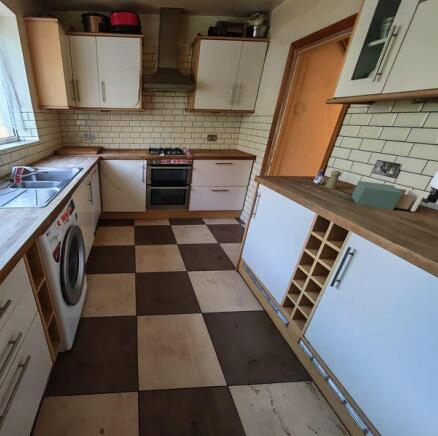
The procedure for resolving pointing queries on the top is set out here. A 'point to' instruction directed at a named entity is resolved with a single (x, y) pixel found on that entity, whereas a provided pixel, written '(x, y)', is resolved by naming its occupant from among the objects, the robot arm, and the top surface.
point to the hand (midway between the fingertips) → (430, 202)
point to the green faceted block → (376, 195)
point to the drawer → (410, 200)
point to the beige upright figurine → (333, 179)
